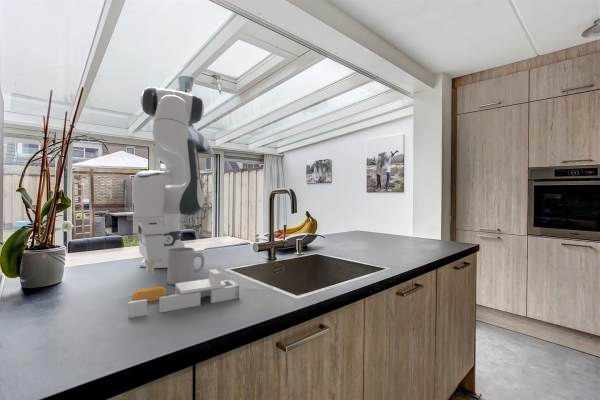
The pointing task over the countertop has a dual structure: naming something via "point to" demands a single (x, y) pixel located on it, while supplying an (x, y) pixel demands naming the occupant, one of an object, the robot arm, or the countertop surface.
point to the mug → (182, 265)
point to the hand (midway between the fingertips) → (150, 272)
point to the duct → (185, 299)
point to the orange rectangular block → (149, 293)
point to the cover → (202, 283)
